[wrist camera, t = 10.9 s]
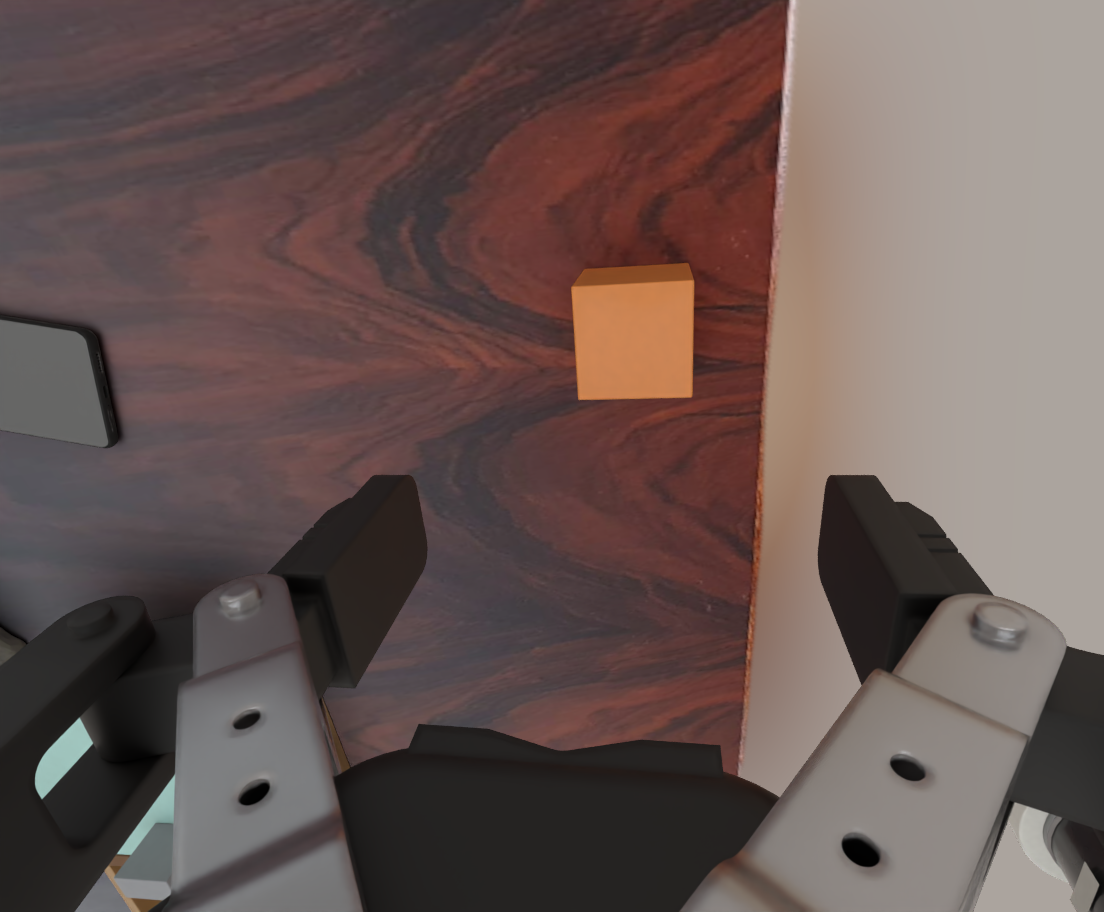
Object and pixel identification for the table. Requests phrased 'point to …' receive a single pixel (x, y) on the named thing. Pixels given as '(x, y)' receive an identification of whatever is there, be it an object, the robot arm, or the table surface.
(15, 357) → the smartphone
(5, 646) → the figurine
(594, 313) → the block
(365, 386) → the table surface
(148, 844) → the mint sliding box lid
